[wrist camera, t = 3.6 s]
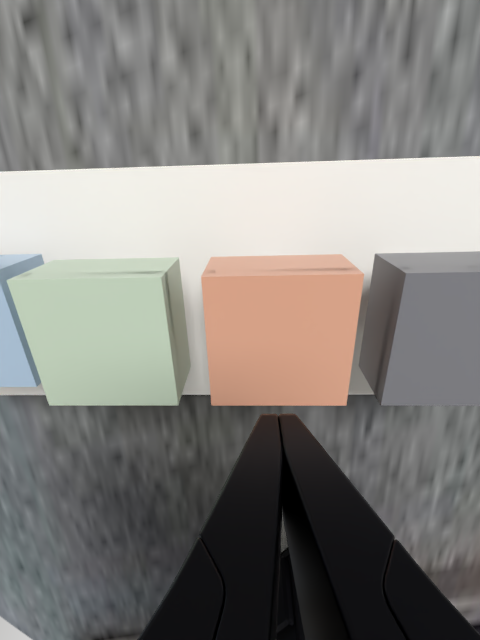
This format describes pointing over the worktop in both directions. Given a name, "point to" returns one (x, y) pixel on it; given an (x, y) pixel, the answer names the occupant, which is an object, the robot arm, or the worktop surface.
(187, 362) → the key sage
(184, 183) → the keypad
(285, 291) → the key terracotta
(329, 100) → the worktop surface
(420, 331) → the key charcoal
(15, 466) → the worktop surface
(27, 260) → the key blue
